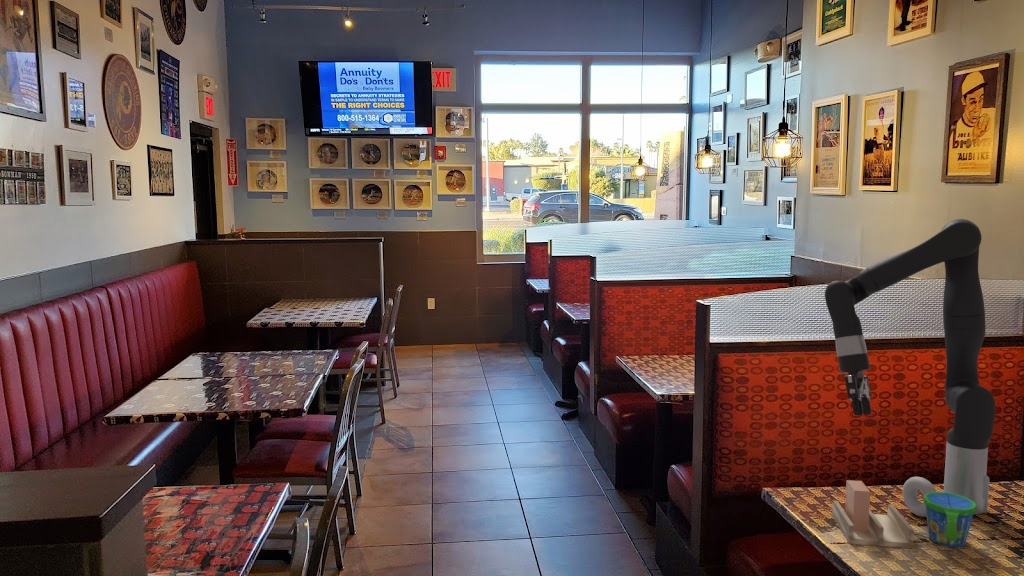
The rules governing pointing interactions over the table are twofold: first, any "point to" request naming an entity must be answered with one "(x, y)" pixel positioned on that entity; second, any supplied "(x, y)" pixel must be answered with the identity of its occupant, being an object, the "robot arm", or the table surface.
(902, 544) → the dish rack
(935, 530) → the snack cup
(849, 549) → the table surface
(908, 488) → the grey ring
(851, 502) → the pink rectangular block
